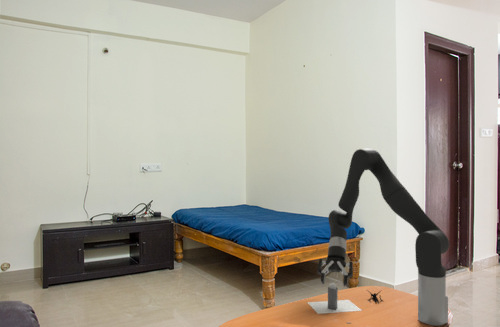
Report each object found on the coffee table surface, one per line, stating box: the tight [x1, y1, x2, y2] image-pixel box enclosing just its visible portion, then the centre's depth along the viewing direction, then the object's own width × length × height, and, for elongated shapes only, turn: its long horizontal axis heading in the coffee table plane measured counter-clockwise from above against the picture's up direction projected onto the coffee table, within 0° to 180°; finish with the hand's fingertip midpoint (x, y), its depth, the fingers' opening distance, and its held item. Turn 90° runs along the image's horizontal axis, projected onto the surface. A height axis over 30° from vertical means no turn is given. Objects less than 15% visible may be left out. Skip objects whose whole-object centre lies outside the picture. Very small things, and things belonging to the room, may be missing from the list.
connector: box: [327, 282, 339, 310], centre depth 151 cm, size 5×4×9 cm
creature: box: [366, 289, 384, 305], centre depth 159 cm, size 8×5×8 cm
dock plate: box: [307, 299, 363, 315], centre depth 152 cm, size 18×12×1 cm, turn 101°
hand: (333, 284), depth 154 cm, fingers open, 8 cm apart
